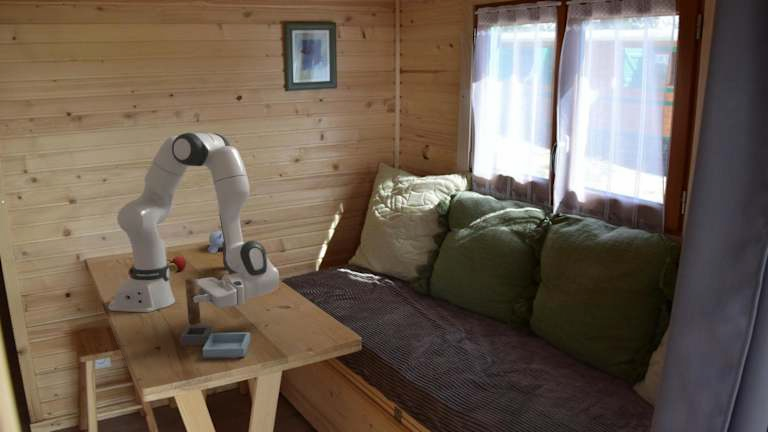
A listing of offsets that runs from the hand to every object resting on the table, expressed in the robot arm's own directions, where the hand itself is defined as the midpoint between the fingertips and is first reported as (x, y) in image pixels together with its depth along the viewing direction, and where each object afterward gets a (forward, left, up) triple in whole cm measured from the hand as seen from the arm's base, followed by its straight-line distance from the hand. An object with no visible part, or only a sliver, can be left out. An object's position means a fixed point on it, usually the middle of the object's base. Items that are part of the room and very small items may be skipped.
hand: (189, 297), depth 218 cm
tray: (+12, -7, -14) cm, 20 cm away
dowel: (+1, +1, -8) cm, 8 cm away
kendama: (-28, +69, -15) cm, 76 cm away
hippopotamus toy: (-12, +103, -15) cm, 105 cm away
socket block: (+1, +1, -14) cm, 14 cm away
